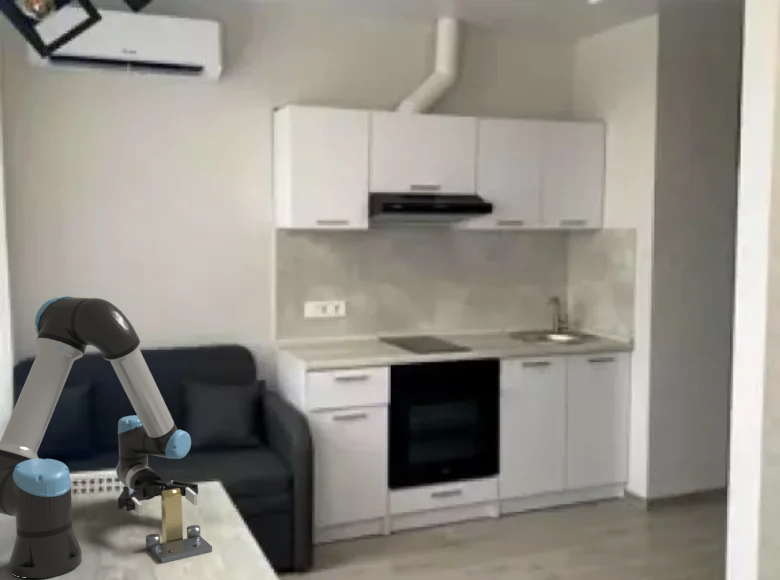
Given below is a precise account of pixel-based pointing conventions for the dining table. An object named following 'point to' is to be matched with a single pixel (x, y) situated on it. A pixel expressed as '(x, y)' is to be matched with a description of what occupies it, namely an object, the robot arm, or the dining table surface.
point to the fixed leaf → (178, 546)
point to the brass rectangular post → (171, 515)
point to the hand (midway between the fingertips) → (168, 504)
